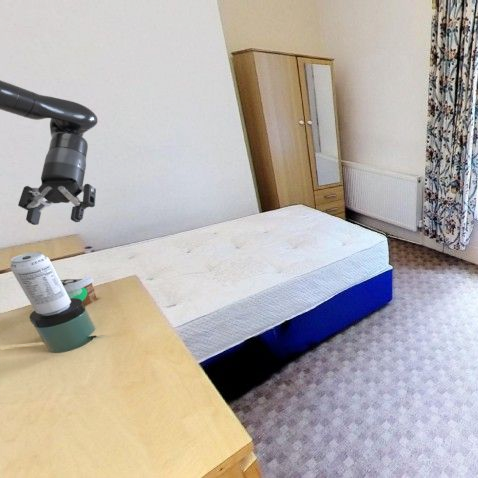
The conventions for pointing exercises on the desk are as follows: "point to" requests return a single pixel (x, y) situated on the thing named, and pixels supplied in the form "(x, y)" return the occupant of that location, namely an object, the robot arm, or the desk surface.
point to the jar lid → (58, 315)
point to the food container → (80, 289)
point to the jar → (68, 333)
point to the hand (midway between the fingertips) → (54, 222)
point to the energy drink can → (40, 283)
